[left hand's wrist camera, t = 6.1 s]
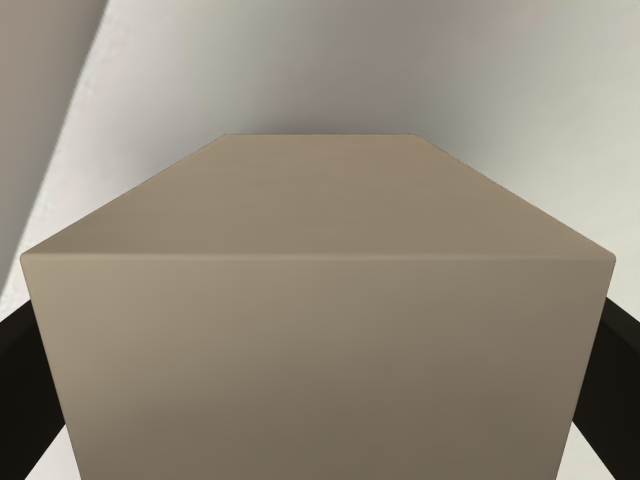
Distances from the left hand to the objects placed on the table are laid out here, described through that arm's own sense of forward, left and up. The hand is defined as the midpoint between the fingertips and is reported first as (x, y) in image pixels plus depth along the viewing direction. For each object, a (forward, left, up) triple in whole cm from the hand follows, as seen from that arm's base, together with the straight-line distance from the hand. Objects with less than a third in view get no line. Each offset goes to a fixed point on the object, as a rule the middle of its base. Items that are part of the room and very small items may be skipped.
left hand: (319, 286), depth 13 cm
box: (+7, +4, -2) cm, 9 cm away
